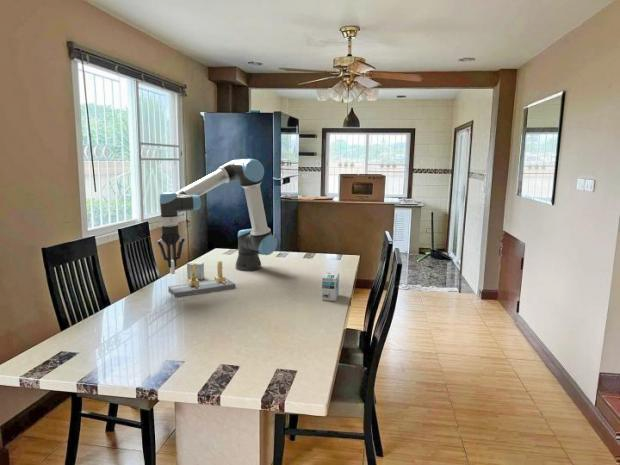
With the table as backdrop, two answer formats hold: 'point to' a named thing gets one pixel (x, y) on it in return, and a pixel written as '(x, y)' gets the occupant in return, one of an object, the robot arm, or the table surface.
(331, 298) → the light bulb box
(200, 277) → the medicine box
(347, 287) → the table surface
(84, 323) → the table surface
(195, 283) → the gold piece
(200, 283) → the grey lever plate
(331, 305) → the table surface
